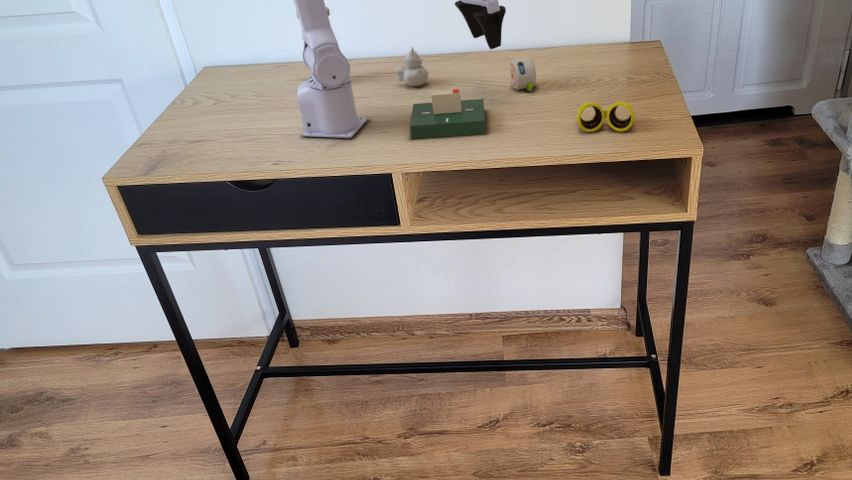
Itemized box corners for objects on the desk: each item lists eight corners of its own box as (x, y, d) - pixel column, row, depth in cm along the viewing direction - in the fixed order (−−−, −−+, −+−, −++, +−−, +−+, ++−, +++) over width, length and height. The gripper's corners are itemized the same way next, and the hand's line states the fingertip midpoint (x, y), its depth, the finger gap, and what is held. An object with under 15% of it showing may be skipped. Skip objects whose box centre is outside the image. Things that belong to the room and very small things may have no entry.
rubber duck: (428, 89, 150) (423, 49, 145) (396, 91, 150) (390, 52, 146) (430, 79, 155) (425, 40, 150) (398, 81, 155) (392, 43, 150)
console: (411, 139, 131) (409, 125, 129) (414, 116, 139) (413, 103, 138) (485, 133, 131) (484, 119, 129) (484, 111, 139) (483, 97, 138)
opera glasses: (632, 125, 132) (633, 97, 130) (634, 132, 127) (635, 103, 125) (577, 126, 133) (577, 98, 131) (577, 133, 128) (576, 104, 126)
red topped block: (433, 114, 133) (431, 93, 131) (433, 110, 134) (431, 90, 132) (461, 112, 133) (459, 91, 131) (461, 108, 134) (459, 88, 132)
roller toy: (515, 95, 144) (514, 66, 141) (507, 84, 150) (505, 55, 146) (537, 91, 145) (536, 62, 142) (528, 80, 150) (527, 52, 147)
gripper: (508, -32, 126) (522, 44, 135) (475, -47, 137) (490, 25, 146) (471, -19, 125) (487, 58, 133) (440, -36, 136) (457, 36, 144)
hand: (487, 41), depth 140 cm, fingers open, 7 cm apart
